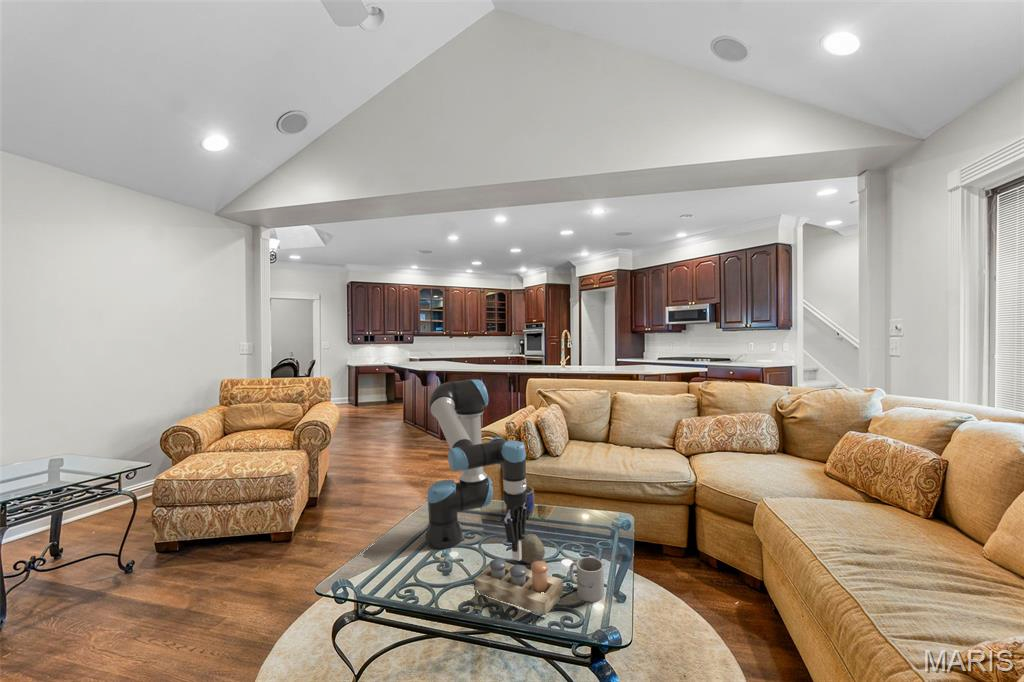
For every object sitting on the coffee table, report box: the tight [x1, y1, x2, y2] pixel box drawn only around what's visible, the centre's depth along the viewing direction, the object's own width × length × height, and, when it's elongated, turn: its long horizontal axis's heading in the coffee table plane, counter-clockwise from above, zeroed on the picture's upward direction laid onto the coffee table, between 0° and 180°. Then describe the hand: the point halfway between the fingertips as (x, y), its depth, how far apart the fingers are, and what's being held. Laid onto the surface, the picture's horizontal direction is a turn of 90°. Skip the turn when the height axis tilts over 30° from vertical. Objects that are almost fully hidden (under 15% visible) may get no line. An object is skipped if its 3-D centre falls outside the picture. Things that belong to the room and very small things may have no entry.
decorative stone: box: [521, 533, 546, 565], centre depth 166 cm, size 10×8×10 cm
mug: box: [569, 556, 605, 603], centre depth 149 cm, size 12×9×10 cm
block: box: [474, 562, 564, 615], centre depth 149 cm, size 26×13×5 cm, turn 59°
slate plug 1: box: [489, 558, 507, 580], centre depth 152 cm, size 5×5×7 cm
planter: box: [526, 484, 535, 517], centre depth 205 cm, size 11×11×11 cm
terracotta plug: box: [530, 560, 549, 591], centre depth 144 cm, size 5×5×7 cm
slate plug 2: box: [510, 564, 527, 587], centre depth 148 cm, size 5×5×7 cm
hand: (517, 558), depth 148 cm, fingers closed
